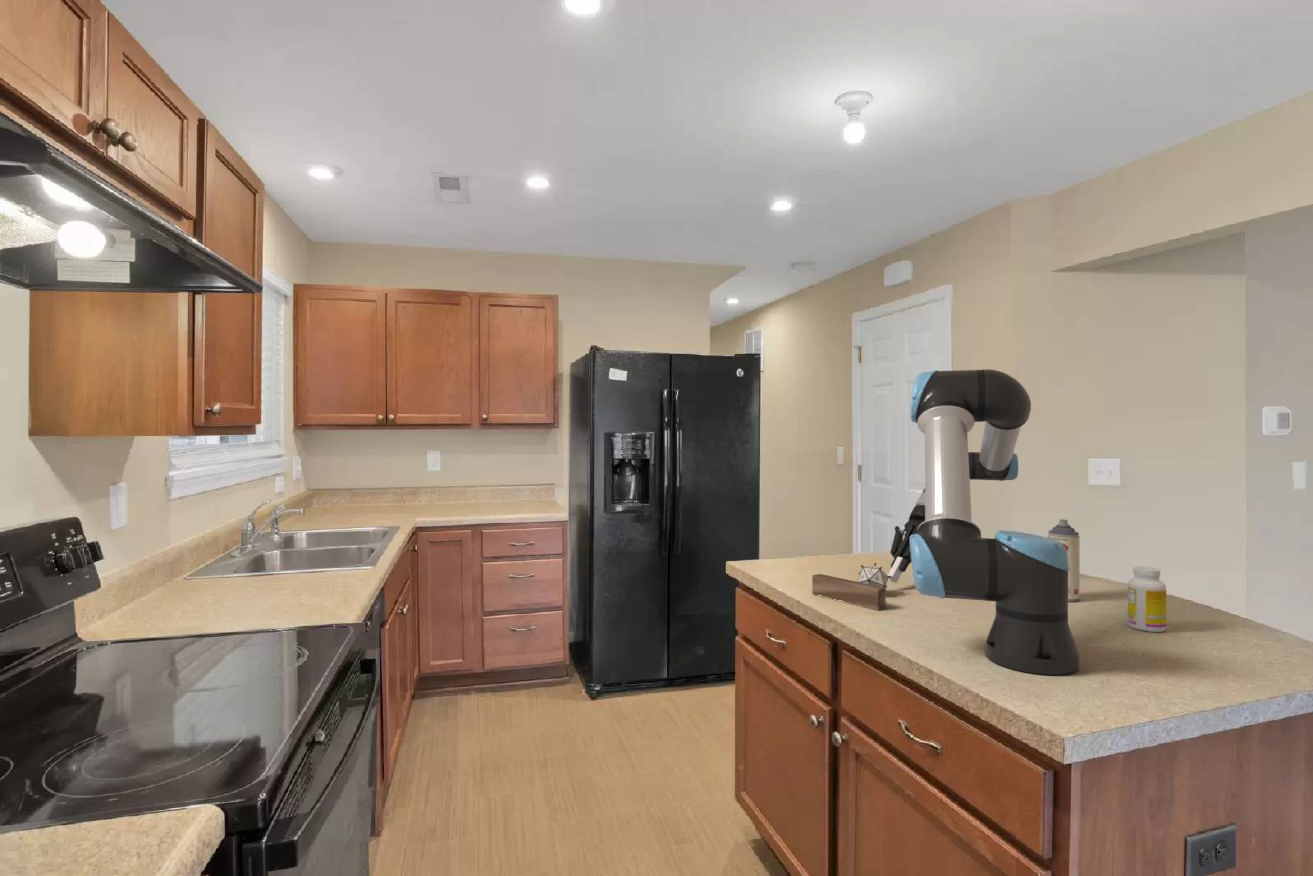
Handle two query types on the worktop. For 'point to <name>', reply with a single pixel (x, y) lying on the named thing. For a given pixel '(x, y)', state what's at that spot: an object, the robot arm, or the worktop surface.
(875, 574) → the game die
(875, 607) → the rail
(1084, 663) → the worktop surface
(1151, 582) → the supplement bottle
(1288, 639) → the worktop surface
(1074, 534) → the aerosol can
